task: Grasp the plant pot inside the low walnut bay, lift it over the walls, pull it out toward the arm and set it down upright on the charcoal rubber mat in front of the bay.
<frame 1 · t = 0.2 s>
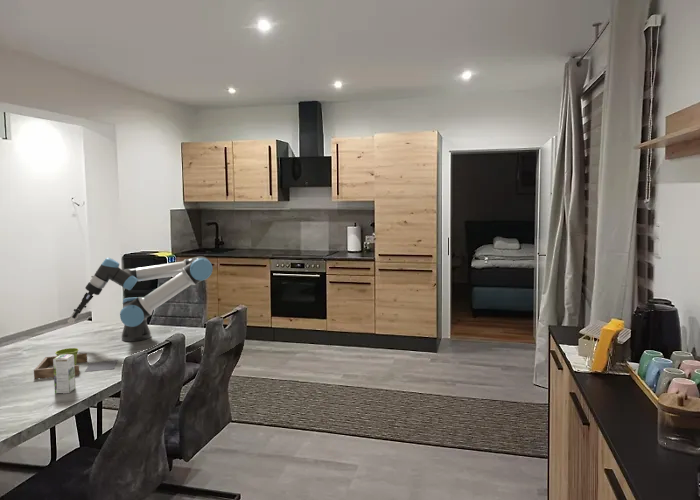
hand: (72, 320, 269), 16 cm above the table, tool tilted 35°, fingers open, 13 cm apart
plant pot: (68, 369, 239), on the table
walnut bay: (65, 369, 238), on the table
charcoal mat: (101, 365, 243), on the table
syrup box: (65, 391, 211), on the table
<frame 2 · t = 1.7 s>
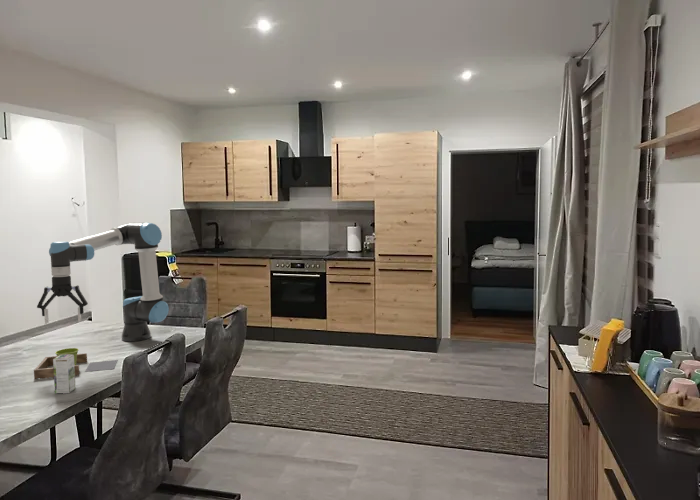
hand: (63, 322, 238), 22 cm above the table, tool pointing down, fingers open, 13 cm apart
nothing on the table moved.
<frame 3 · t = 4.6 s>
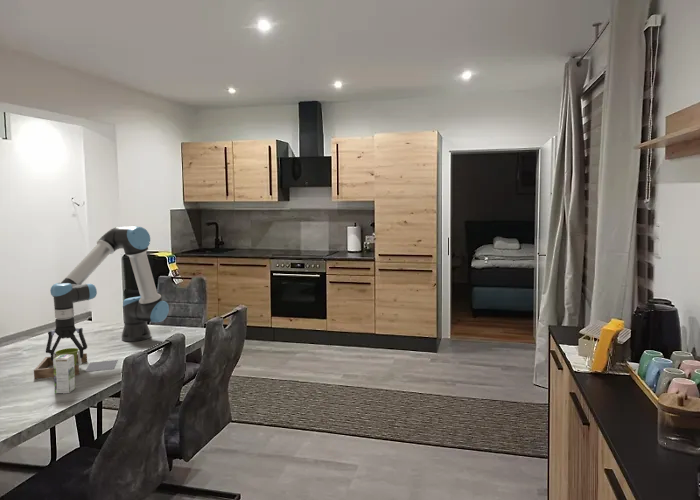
hand: (68, 365, 239), 2 cm above the table, tool pointing down, fingers closed on plant pot, 9 cm apart
plant pot: (68, 369, 239), on the table, touching gripper
everything else where it was.
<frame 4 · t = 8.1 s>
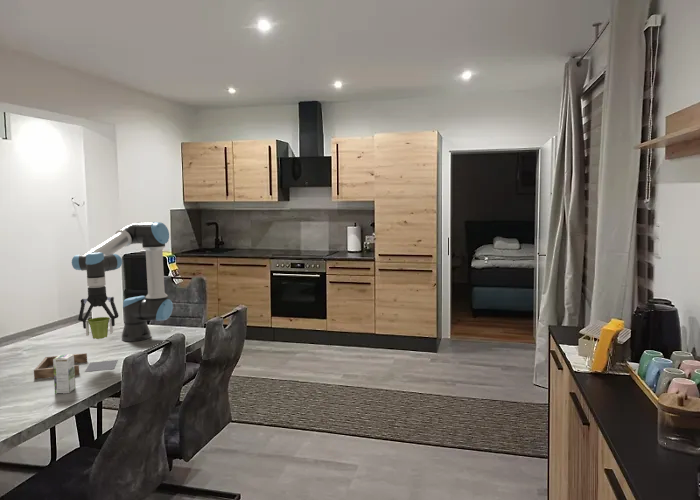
hand: (99, 334, 241), 15 cm above the table, tool pointing down, fingers closed on plant pot, 9 cm apart
plant pot: (100, 338, 242), point 13 cm above the table, touching gripper
everything else where it was.
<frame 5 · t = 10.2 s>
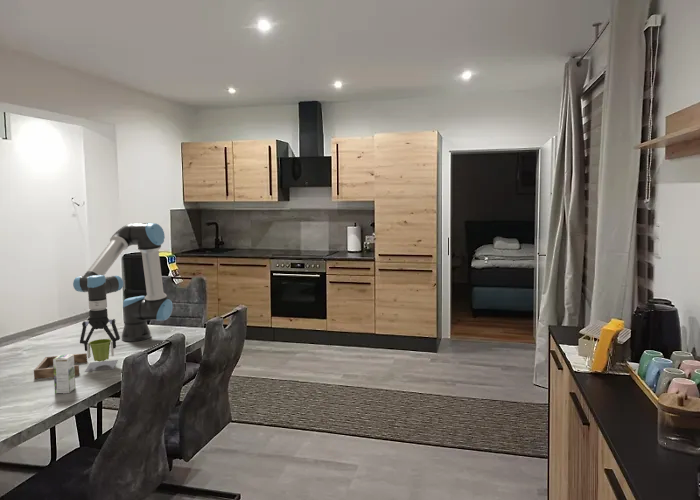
hand: (101, 356, 242), 5 cm above the table, tool pointing down, fingers closed on plant pot, 9 cm apart
plant pot: (101, 360, 243), point 3 cm above the table, touching gripper
everything else where it was.
when the fingers open (2 cm above the table, at t = 11.9 s): plant pot stays where it is, resting on charcoal mat.
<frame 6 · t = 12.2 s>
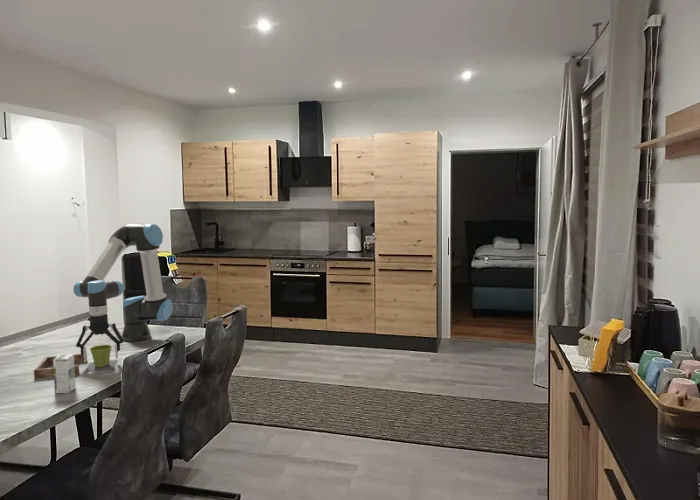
hand: (101, 359, 243), 3 cm above the table, tool pointing down, fingers open, 13 cm apart
plant pot: (101, 366, 243), resting on charcoal mat
everything else where it was.
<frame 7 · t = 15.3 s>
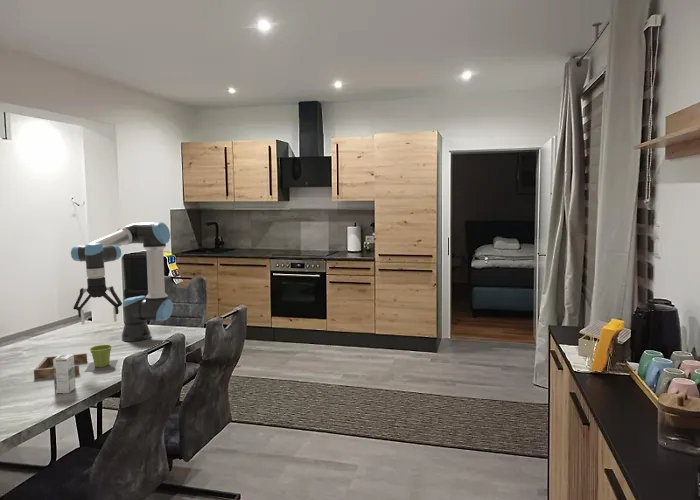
hand: (99, 322, 241), 20 cm above the table, tool pointing down, fingers open, 13 cm apart
nothing on the table moved.
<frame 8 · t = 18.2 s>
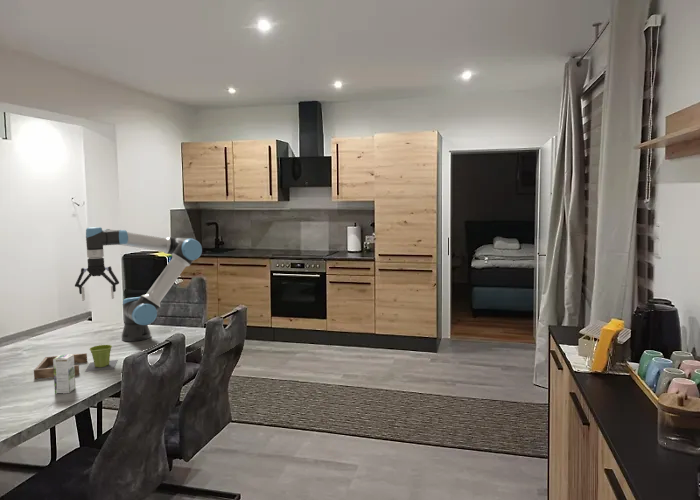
hand: (98, 299, 266), 27 cm above the table, tool pointing down, fingers open, 13 cm apart
nothing on the table moved.
at the end: plant pot inside the target area (0.1 cm from its centre), resting on charcoal mat; plant pot tilted 0°; the gripper is holding nothing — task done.
